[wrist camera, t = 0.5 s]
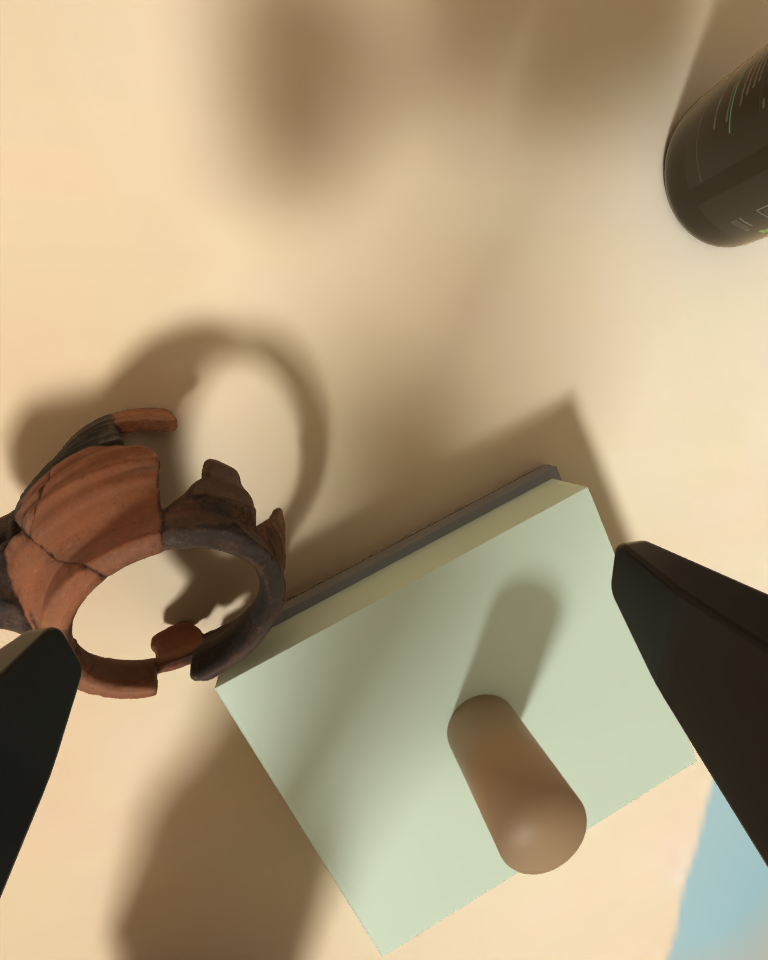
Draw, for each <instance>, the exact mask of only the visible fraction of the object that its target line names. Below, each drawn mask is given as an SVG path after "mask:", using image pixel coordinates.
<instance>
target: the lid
mask: <svg viewBox="0 0 768 960" xmlns="http://www.w3.org/2000/svg"><path fill="white" fill-rule="evenodd" d="M614 556H615V554H614V551H613V549H612V546H611V544H610V541H609V539H608V536H607V534H606V531H605V529H604V526H603V524H602V521H601V519H600V516H599V514H598V511H597V509H596V506H595V504H594V501H593V499H592V496H591V494H590V491H589V489H588V487H586V486H582V485H577V484H573V483H569V482H565V481H561V480H556V479H550V480H548V481H546V482H544V483H542V484H540V485H538V486H537V487H535V488H533V489H531V490H529V491H527V492H525V493H523V494H522V495H520V496H518V497H516V498H514V499H512V500H510V501H508V502H507V503H505V504H503V505H501V506H499V507H497V508H495V509H493V510H492V511H490V512H488V513H486V514H484V515H482V516H480V517H478V518H477V519H475V520H473V521H471V522H469V523H467V524H465V525H463V526H462V527H460V528H458V529H456V530H454V531H452V532H450V533H448V534H447V535H445V536H443V537H441V538H439V539H437V540H435V541H433V542H432V543H430V544H428V545H426V546H424V547H422V548H420V549H418V550H417V551H415V552H413V553H411V554H409V555H407V556H405V557H403V558H402V559H400V560H398V561H396V562H394V563H392V564H390V565H388V566H387V567H385V568H383V569H381V570H379V571H377V572H375V573H373V574H372V575H370V576H368V577H366V578H364V579H362V580H360V581H358V582H357V583H355V584H353V585H351V586H349V587H347V588H345V589H344V590H342V591H340V592H338V593H336V594H334V595H332V596H330V597H329V598H327V599H325V600H323V601H321V602H319V603H317V604H315V605H314V606H312V607H310V608H308V609H306V610H304V611H302V612H300V613H299V614H297V615H295V616H293V617H291V618H289V619H287V620H285V621H284V622H282V623H280V624H278V625H276V626H274V627H272V628H271V630H270V631H269V632H268V634H267V635H266V637H265V638H264V639H263V641H262V642H261V643H260V644H259V645H258V646H257V647H256V648H255V649H254V650H253V651H252V652H251V653H250V654H249V655H248V656H246V657H245V658H244V659H242V660H241V661H240V662H238V663H237V664H235V665H234V666H233V667H232V668H230V669H228V670H227V671H225V672H224V673H221V674H220V675H219V676H218V680H217V683H216V686H215V690H216V691H217V693H218V695H219V696H220V698H221V699H222V701H223V703H224V704H225V706H226V707H227V709H228V711H229V712H230V714H231V715H232V717H233V719H234V720H235V722H236V723H237V725H238V727H239V728H240V730H241V732H242V733H243V735H244V736H245V738H246V740H247V741H248V743H249V744H250V746H251V748H252V749H253V751H254V752H255V754H256V756H257V757H258V759H259V760H260V762H261V764H262V765H263V767H264V768H265V770H266V772H267V773H268V775H269V776H270V778H271V780H272V781H273V783H274V784H275V786H276V788H277V789H278V791H279V792H280V794H281V796H282V797H283V799H284V800H285V802H286V804H287V805H288V807H289V809H290V810H291V812H292V813H293V815H294V817H295V818H296V820H297V821H298V823H299V825H300V826H301V828H302V829H303V831H304V833H305V834H306V836H307V837H308V839H309V841H310V842H311V844H312V845H313V847H314V849H315V850H316V852H317V853H318V855H319V857H320V858H321V860H322V861H323V863H324V865H325V866H326V868H327V869H328V871H329V873H330V874H331V876H332V877H333V879H334V881H335V882H336V884H337V885H338V887H339V889H340V890H341V892H342V894H343V895H344V897H345V898H346V900H347V902H348V903H349V905H350V906H351V908H352V910H353V911H354V913H355V914H356V916H357V918H358V919H359V921H360V922H361V924H362V926H363V927H364V929H365V930H366V932H367V934H368V935H369V937H370V938H371V940H372V942H373V943H374V945H375V946H376V948H377V950H378V951H379V953H380V954H381V956H382V957H383V956H385V955H387V954H388V953H390V952H391V951H393V950H395V949H396V948H398V947H399V946H401V945H403V944H404V943H406V942H407V941H409V940H411V939H412V938H414V937H415V936H417V935H419V934H420V933H422V932H423V931H425V930H427V929H428V928H430V927H431V926H433V925H435V924H436V923H438V922H439V921H441V920H443V919H444V918H446V917H447V916H449V915H451V914H452V913H454V912H455V911H457V910H459V909H460V908H462V907H463V906H465V905H467V904H468V903H470V902H471V901H473V900H475V899H476V898H478V897H479V896H481V895H483V894H484V893H486V892H487V891H489V890H491V889H492V888H494V887H495V886H497V885H499V884H500V883H502V882H504V881H505V880H507V879H508V878H510V877H512V876H513V875H515V874H516V873H518V872H520V873H524V874H541V873H546V872H549V871H551V870H554V869H556V868H558V867H559V866H561V865H562V864H564V863H565V862H566V861H567V860H569V859H570V858H571V857H572V856H573V855H574V853H575V852H576V851H577V849H578V848H579V846H580V844H581V843H582V840H583V838H584V835H585V832H586V830H587V829H588V828H590V827H592V826H593V825H595V824H596V823H598V822H600V821H601V820H603V819H604V818H606V817H608V816H609V815H611V814H612V813H614V812H616V811H617V810H619V809H620V808H622V807H624V806H625V805H627V804H628V803H630V802H632V801H633V800H635V799H637V798H638V797H640V796H641V795H643V794H645V793H646V792H648V791H649V790H651V789H653V788H654V787H656V786H657V785H659V784H661V783H662V782H664V781H665V780H667V779H669V778H670V777H672V776H673V775H675V774H677V773H678V772H680V771H681V770H683V769H685V768H686V767H688V766H689V765H691V764H693V763H694V762H696V761H697V760H696V757H695V755H694V752H693V750H692V747H691V745H690V742H689V740H688V737H687V735H686V733H685V732H684V730H683V729H682V727H681V725H680V724H679V722H678V720H677V719H676V717H675V716H674V714H673V712H672V711H671V709H670V707H669V706H668V704H667V703H666V701H665V699H664V698H663V696H662V694H661V692H660V691H659V689H658V687H657V686H656V684H655V682H654V680H653V678H652V676H651V674H650V672H649V670H648V668H647V666H646V664H645V662H644V660H643V658H642V656H641V654H640V651H639V649H638V647H637V645H636V643H635V641H634V639H633V637H632V635H631V633H630V631H629V629H628V626H627V624H626V622H625V620H624V618H623V616H622V614H621V612H620V610H619V608H618V606H617V604H616V601H615V599H614V597H613V594H612V589H611V580H612V572H613V564H614Z"/></svg>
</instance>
